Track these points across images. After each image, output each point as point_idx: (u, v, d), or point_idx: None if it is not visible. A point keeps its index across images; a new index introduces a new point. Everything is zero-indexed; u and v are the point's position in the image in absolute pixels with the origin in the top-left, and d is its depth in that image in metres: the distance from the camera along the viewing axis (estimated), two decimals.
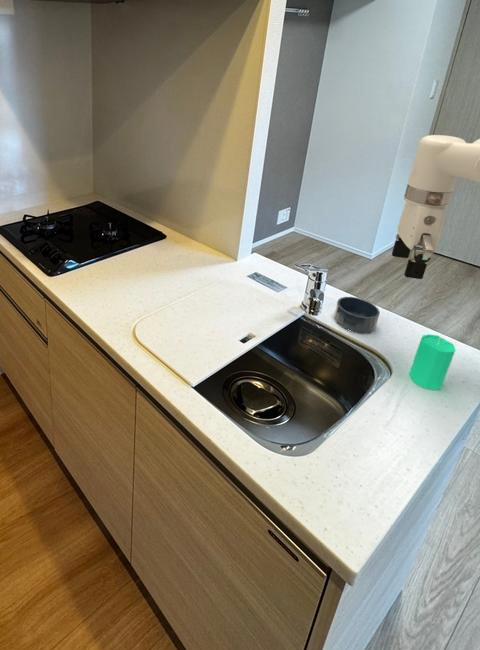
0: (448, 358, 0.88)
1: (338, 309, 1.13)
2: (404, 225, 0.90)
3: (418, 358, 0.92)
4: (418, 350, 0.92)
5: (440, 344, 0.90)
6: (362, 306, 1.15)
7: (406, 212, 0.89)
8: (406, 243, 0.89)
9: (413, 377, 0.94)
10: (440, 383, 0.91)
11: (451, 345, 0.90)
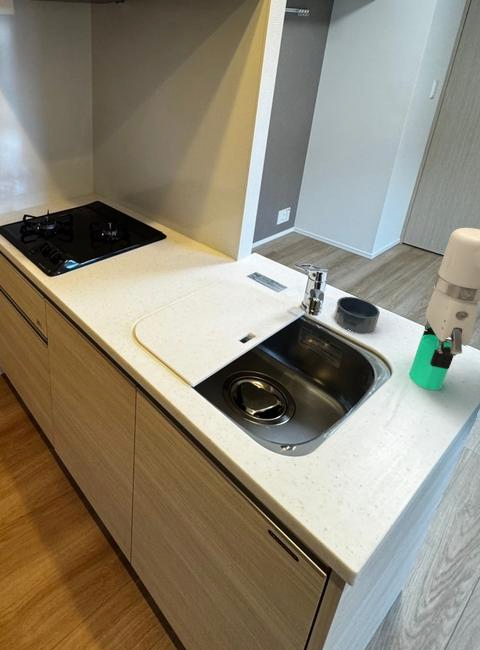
0: None
1: (338, 309, 1.13)
2: (434, 313, 0.88)
3: (418, 358, 0.92)
4: (418, 350, 0.92)
5: None
6: (362, 306, 1.15)
7: (436, 301, 0.88)
8: (436, 333, 0.87)
9: (413, 377, 0.94)
10: (440, 383, 0.91)
11: None
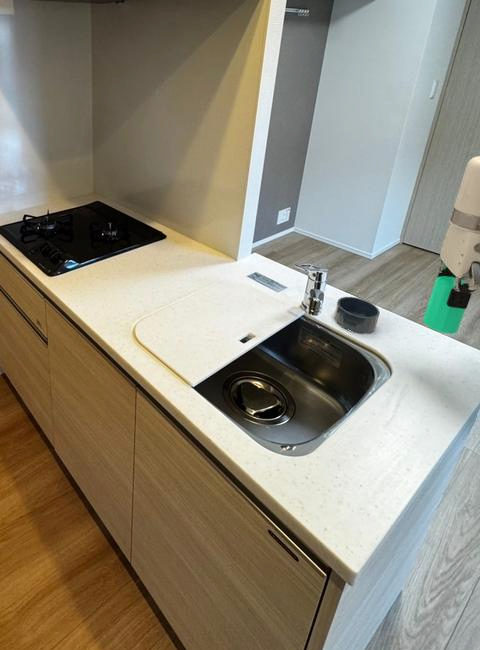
0: None
1: (338, 309, 1.13)
2: (449, 251, 0.84)
3: (433, 301, 0.88)
4: (433, 292, 0.88)
5: None
6: (362, 306, 1.15)
7: (452, 237, 0.84)
8: (453, 271, 0.83)
9: (428, 322, 0.89)
10: (457, 326, 0.86)
11: None
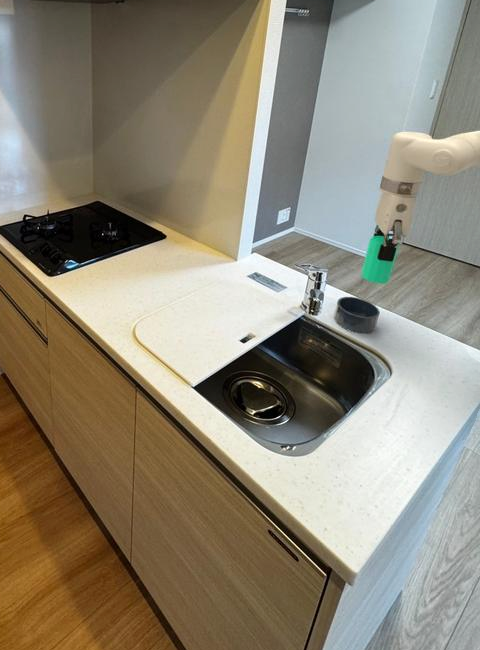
0: None
1: (338, 309, 1.13)
2: (380, 213, 1.00)
3: (368, 256, 1.04)
4: (368, 249, 1.04)
5: None
6: (362, 306, 1.15)
7: (381, 201, 0.99)
8: (381, 229, 0.99)
9: (364, 274, 1.05)
10: (387, 277, 1.02)
11: None
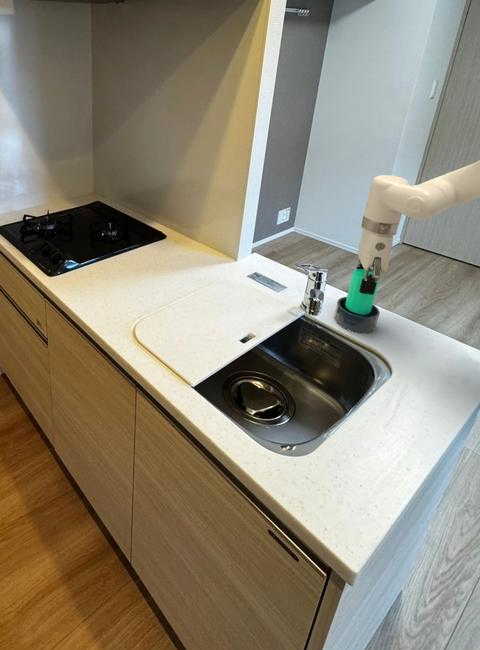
0: None
1: (338, 309, 1.13)
2: (361, 249, 1.06)
3: (350, 288, 1.10)
4: (351, 282, 1.10)
5: None
6: None
7: (363, 238, 1.06)
8: (363, 264, 1.05)
9: (347, 305, 1.12)
10: (368, 308, 1.09)
11: None
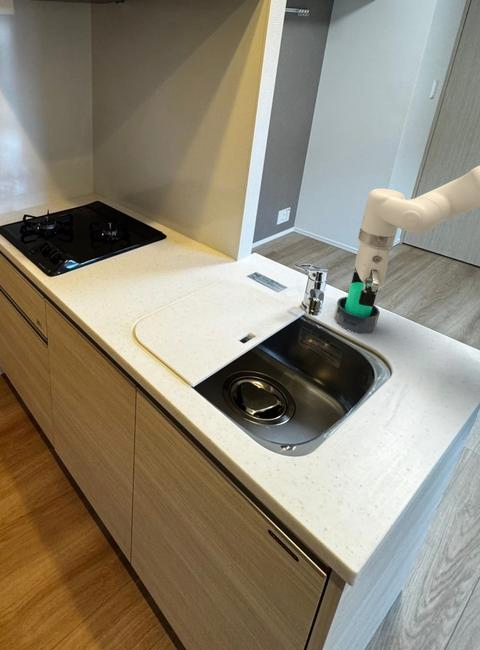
0: None
1: (338, 309, 1.13)
2: (359, 261, 1.08)
3: (348, 301, 1.11)
4: (348, 295, 1.12)
5: None
6: None
7: (360, 250, 1.07)
8: (360, 276, 1.06)
9: None
10: None
11: None
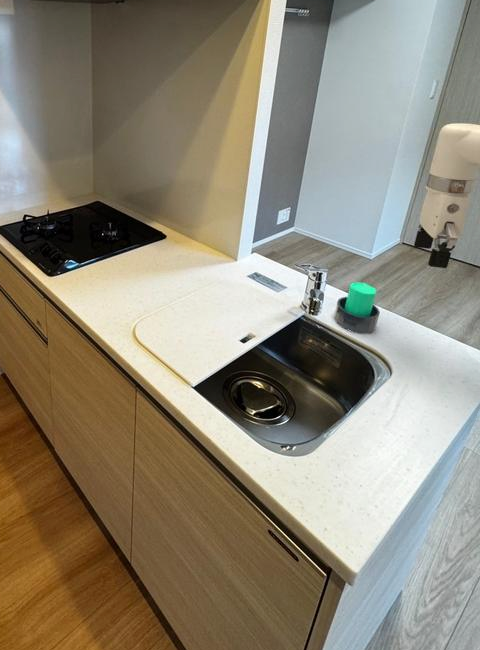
0: (370, 299, 1.08)
1: (338, 309, 1.13)
2: (426, 214, 0.90)
3: (348, 301, 1.11)
4: (348, 295, 1.12)
5: (365, 289, 1.10)
6: None
7: (428, 201, 0.89)
8: (429, 232, 0.89)
9: None
10: None
11: (373, 289, 1.09)
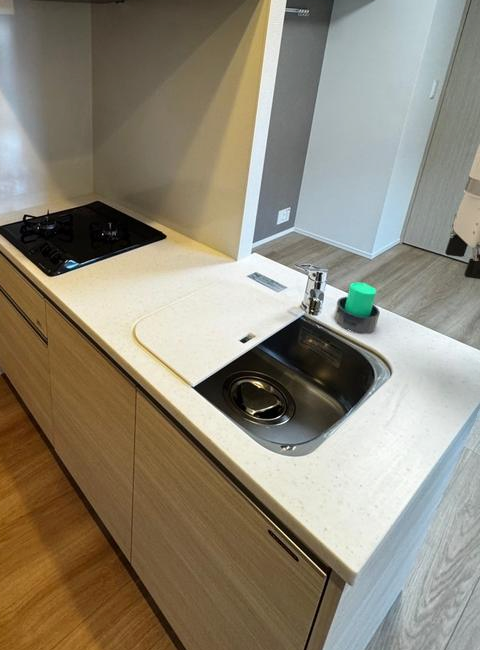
0: (370, 299, 1.08)
1: (338, 309, 1.13)
2: (463, 221, 0.83)
3: (348, 301, 1.11)
4: (348, 295, 1.12)
5: (365, 289, 1.10)
6: None
7: (466, 207, 0.83)
8: (466, 240, 0.82)
9: None
10: None
11: (373, 289, 1.09)
